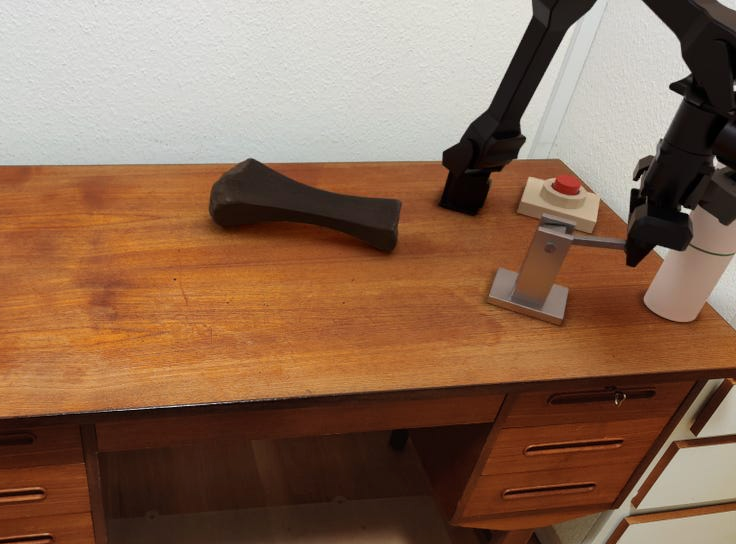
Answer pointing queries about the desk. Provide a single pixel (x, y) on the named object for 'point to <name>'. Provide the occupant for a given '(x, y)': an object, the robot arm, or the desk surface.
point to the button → (566, 185)
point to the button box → (559, 203)
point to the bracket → (537, 275)
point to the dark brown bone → (300, 205)
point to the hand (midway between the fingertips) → (630, 259)
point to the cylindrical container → (693, 268)
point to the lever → (592, 240)
